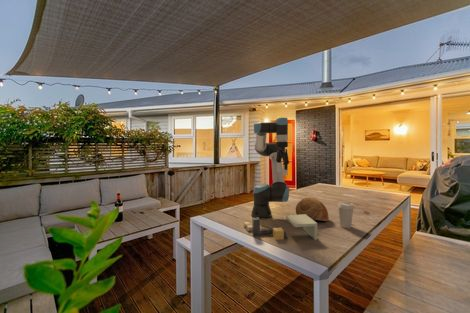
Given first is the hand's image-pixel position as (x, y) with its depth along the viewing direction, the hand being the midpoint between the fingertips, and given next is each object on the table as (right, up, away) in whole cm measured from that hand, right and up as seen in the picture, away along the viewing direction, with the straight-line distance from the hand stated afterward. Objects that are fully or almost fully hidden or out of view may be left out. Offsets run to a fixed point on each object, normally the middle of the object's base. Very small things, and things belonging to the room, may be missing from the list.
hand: (282, 173), depth 150 cm
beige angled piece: (+8, -36, -15) cm, 39 cm away
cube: (-6, -36, -18) cm, 41 cm away
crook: (-11, -36, -16) cm, 41 cm away
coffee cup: (+40, -35, -4) cm, 53 cm away
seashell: (+23, -34, +11) cm, 43 cm away
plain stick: (-23, -36, -4) cm, 43 cm away
